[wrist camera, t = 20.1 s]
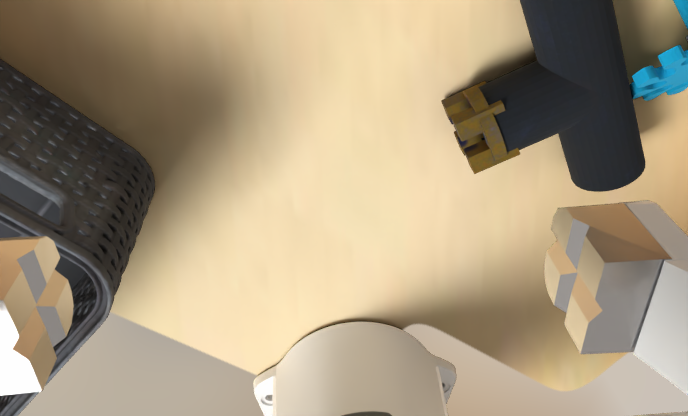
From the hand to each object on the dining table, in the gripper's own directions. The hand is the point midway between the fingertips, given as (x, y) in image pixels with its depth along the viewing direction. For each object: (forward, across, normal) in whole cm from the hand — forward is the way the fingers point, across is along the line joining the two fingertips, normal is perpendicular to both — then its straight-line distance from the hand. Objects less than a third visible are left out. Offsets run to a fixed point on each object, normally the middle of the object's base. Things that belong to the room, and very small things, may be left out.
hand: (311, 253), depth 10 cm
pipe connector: (+32, -15, +10) cm, 37 cm away
